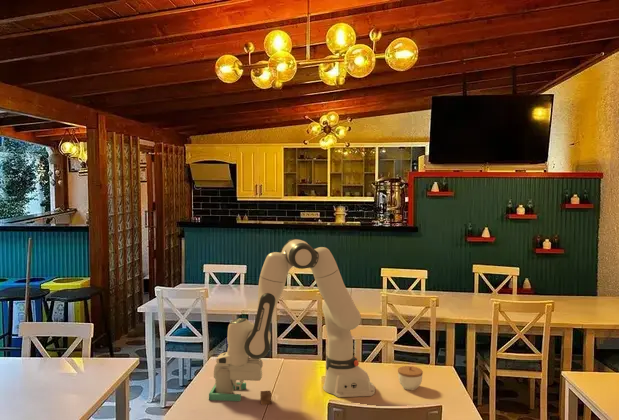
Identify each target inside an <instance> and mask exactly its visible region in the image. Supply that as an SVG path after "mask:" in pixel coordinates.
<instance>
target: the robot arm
mask: <svg viewBox="0 0 619 420" xmlns="http://www.w3.org/2000/svg"><path fill="white" fill-rule="evenodd" d="M293 267H294V268H296V269H299V270H303V269H310V270H311V272H312V274H313V278H314V281H315V283H316V286H317V288H318V292H319V294H320V295H321V297H322V299H323V300H324V301H323V303H322V305H321V309H322V313H323V316H324V324H325V331H326V336H327V337H326V338H327V355H326V358H325V370H326V373H325V379H324V383H323V386H322V388H323V390H324V391H325V392H326V393H329V394H331V395H334V396H335V397H337V398H350V397H351V398H353V397H371V396H374V395H375V392H376V387H375V384H374V383H373V382H371V380H370V376H369V374H368V372H367V371H366V370H365V369H363V368H361V367H360V366H359V363H360V362H359V360H358V358H357V356H354V354H353V353H354V337H353V336H352V332H351V331H352V330H355V329H356V328H358V327H359V325H360V323H361V321H362V315H361V312H360V311H359V310H358V309H359V308H357V306H356V304H355V302H354V300H353V298H352V296H351V294H350V292H349V291H348V289H347V287H346V285H345V283H344V280H343V277H342V275H341V273H340V269H339V267H338V264H337V261H336V260H335V258H334V255H333V254H332V252H331V251H330V249H329V248H327V247H325V246H324V247H323V246H320V247H316V248H313V247H312V246H311V245H310V244H308V242H307V241H305V240H303V239H300V238H292V239H289V240H288V241H286V242H285V244H284V245H283V246H282V247H281V249H279V251H278V252H277V251H273V252H270V253H268V254H267V255H266V257H265V260H264V261H263V265H262V267H261V271H260V274H259V279H258V289H257V311H256V315H255V320H254V323H253V322H251V321H250V320H248V318H246V317H245V318H243V317H241V318H240V317H239V318H235V319H233V320H232V321H230V323H229V324H228V326H227V335H226V336H227V345H228V347H227V351H226V352H221V353H219V354H218V356H217V357H216V360H215V361H216V364H215V365H214V368H213V378H214V380H215V379H216V378H217V371H218V370H219V368H223V369H225V368H229V369H228V370H229V371H230V380H232V383H233V384H234V386H235V389H234V390H235V391H241V390H242V389H241V385H242V383H244V382H245V381H252V382H253V381H255V382H256V381H259V382H260V381H261V380H262V378H263V369H262V368H263V364H264V363H263V360H262V359H263V358H265V357H266V356H267V355H268V354H269V352H270V349H271V347H270V346H271V338H272V334H271V333H272V332H271V331H270V327H271V321H272V319H273V314H274V312H275V308H277V307H276V306H277V305H278V302H279V300H280V299H281V297H282V294H283V292H284V289H285V286H286V282H287V277H288V274H289V272H290V270H291V269H292V268H293ZM237 381H239V382H240V385H237V383H236V382H237Z"/></svg>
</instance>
